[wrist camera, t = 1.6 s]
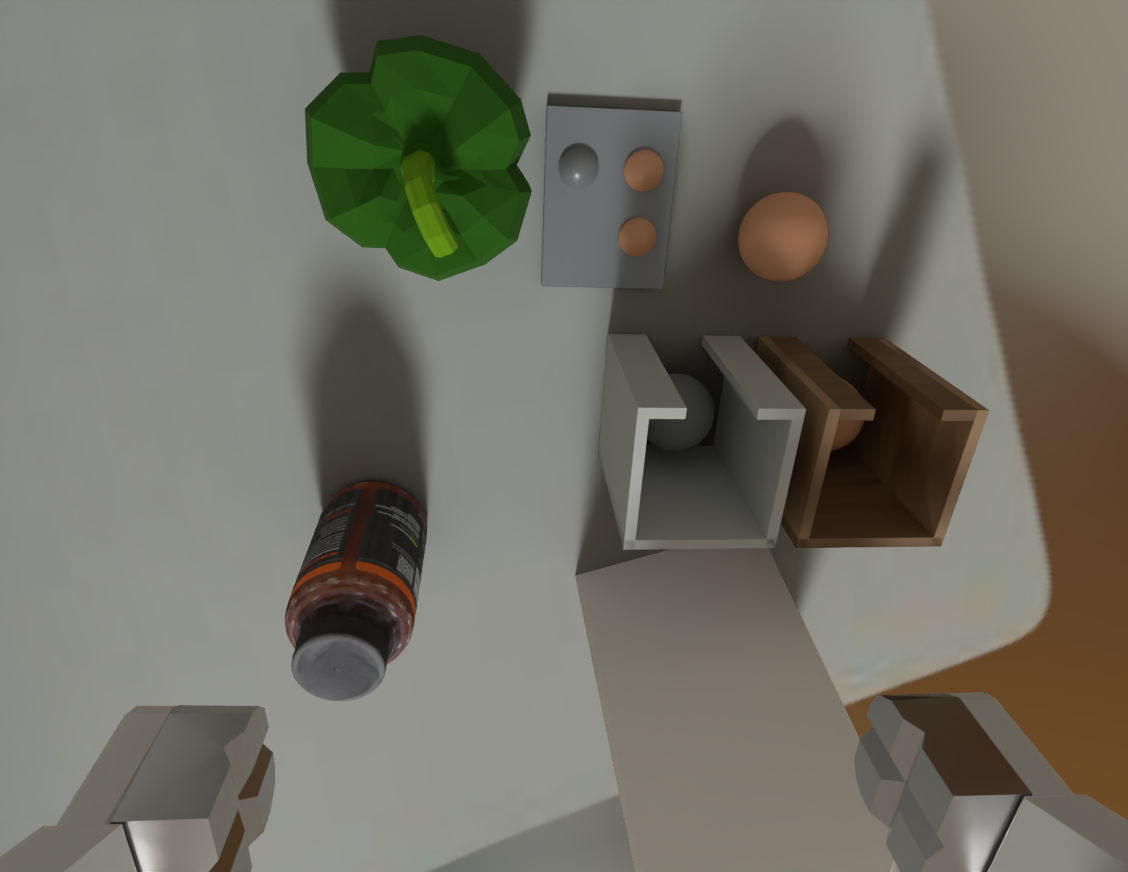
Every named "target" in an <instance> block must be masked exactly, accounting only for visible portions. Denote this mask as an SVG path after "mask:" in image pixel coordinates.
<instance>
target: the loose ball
mask: <svg viewBox="0 0 1128 872" xmlns="http://www.w3.org/2000/svg"><path fill="white" fill-rule="evenodd" d="M827 242H828V225H827V221H826V218H825V215H824V213H823V212H822V210H821V209H820V207H819V206H818V205H817V204H816V203H815V202H814V201H813V200H811V199H810V198H808V197H807V196H804V195H802V194H798V193H794V192H780V193H775V194H771V195H769V196H767V197H765V198H763V199H761V200H760V201H758V202H757V203H756V204H755V205H754V206H752V207H751V208H750V210H749V211H748V212H747V214H746V215H745V217H744V219H743V221H742V223H741V226H740V229H739V235H738V246H739V251H740V254H741V257H742V259H743V261H744V263H745V264H746V266H747V267H748V268H749V269H750V270H751V271H752V272H753V273H755V274H756V275H758V276H759V277H761V278H764V279H766V280H770V281H778V282H780V281H789V280H793V279H796V278H799V277H801V276H803V275H804V274H806V273H807V272H809V271H810V270H811V269H812V268H813V267H814V266H815V265H816V264H817V263H818V262H819V260H820V259H821V257H822V256H823V254H824V251H825V249H826V246H827Z"/></svg>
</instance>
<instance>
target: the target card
mask: <svg viewBox="0 0 1128 872" xmlns="http://www.w3.org/2000/svg"><path fill="white" fill-rule="evenodd" d="M681 118H682V112H674V111H653V110H633V109H612V108H591V107H570V106H549V105H547V121H546V152H545V184H544V215H543V246H542V277H541V285H542V286H552V287H594V288H635V289H662V288H663V279H664V270H665V261H666V252H667V243H668V234H669V225H670V216H671V208H672V199H673V190H674V181H675V172H676V163H677V154H678V145H679V136H680V127H681Z"/></svg>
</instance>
